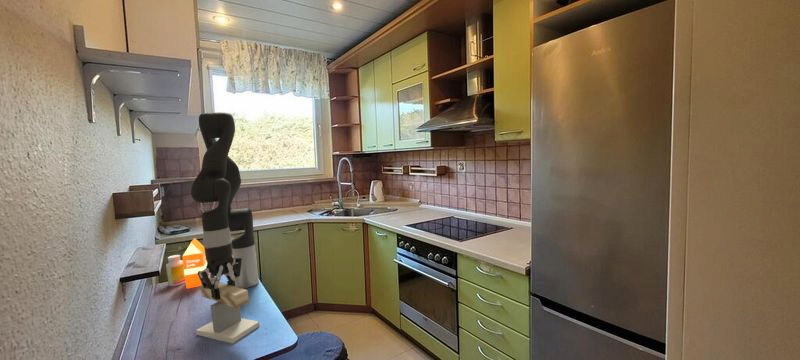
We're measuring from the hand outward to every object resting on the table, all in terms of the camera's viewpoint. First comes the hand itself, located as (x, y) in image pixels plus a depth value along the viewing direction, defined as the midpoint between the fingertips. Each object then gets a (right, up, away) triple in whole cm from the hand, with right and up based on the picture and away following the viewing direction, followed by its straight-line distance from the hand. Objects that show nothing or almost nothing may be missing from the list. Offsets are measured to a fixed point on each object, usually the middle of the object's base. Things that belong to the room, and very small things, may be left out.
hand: (224, 295), depth 103 cm
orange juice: (-36, -10, +44) cm, 58 cm away
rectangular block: (0, -1, 0) cm, 1 cm away
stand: (+1, -11, +1) cm, 12 cm away
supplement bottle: (-46, -11, +46) cm, 66 cm away
